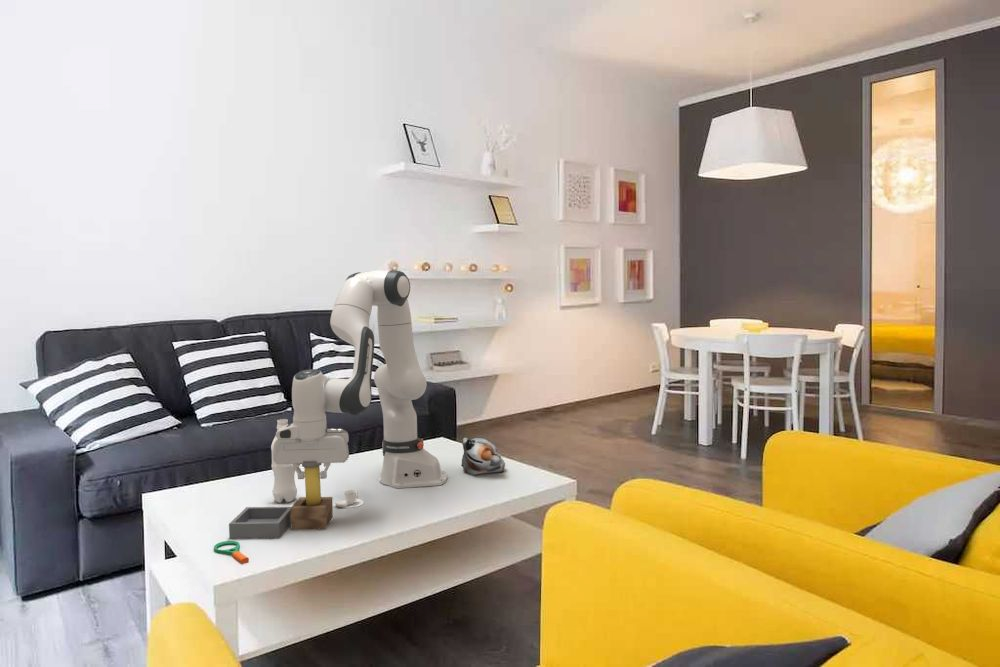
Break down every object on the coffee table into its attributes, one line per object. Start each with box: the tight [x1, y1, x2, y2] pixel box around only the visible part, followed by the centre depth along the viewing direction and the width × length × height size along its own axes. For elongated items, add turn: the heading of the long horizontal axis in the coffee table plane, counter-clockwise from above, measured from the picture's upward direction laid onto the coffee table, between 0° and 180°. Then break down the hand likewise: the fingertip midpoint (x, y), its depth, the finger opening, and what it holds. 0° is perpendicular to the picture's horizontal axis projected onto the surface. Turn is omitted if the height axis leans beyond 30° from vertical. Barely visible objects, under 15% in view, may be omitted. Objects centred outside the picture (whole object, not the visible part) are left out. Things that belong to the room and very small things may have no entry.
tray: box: [228, 506, 292, 540], centre depth 187 cm, size 13×13×4 cm
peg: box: [301, 461, 323, 506], centre depth 190 cm, size 5×5×14 cm
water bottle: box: [270, 418, 298, 504], centre depth 210 cm, size 7×7×25 cm
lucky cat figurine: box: [461, 437, 506, 476], centre depth 238 cm, size 17×14×16 cm
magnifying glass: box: [213, 540, 250, 565], centre depth 170 cm, size 15×6×2 cm, turn 42°
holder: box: [290, 496, 334, 531], centre depth 191 cm, size 9×9×6 cm
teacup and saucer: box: [334, 489, 365, 509], centre depth 207 cm, size 9×8×4 cm
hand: (312, 478), depth 190 cm, fingers closed on peg, 5 cm apart
